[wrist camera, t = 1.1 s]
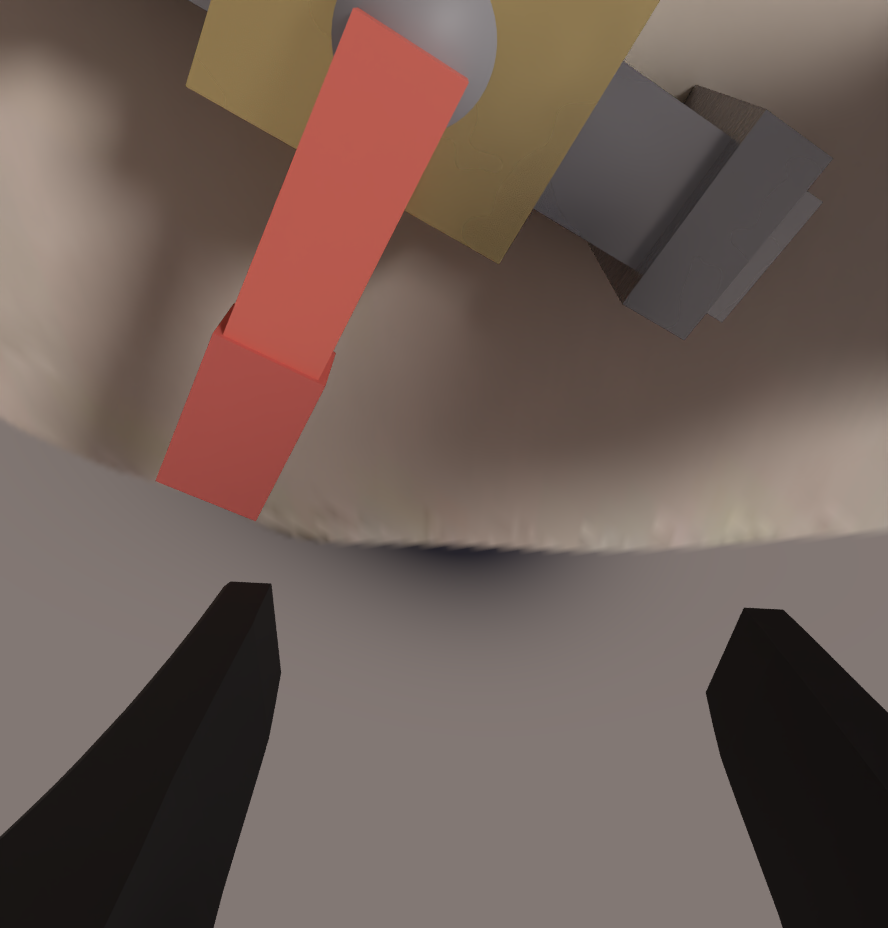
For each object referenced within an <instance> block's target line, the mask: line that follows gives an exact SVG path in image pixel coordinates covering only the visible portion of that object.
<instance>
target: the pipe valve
mask: <svg viewBox="0 0 888 928" xmlns="http://www.w3.org/2000/svg"><path fill="white" fill-rule="evenodd" d="M189 1H191V2H192V3H194V4H196V5H197V6H199V7H201V8H202V9H204V10H206V11H207V15H206V18H205V22H204V25H203V29H202V32H201V35H200V39H199V42H198V45H197V49H196V52H195V55H194V59H193V62H192V65H191V69H190V72H189V76H188V79H187V82H186V87H187V88H189V89H191V90H193V91H195V92H196V93H198V94H200V95H202V96H203V97H205V98H207V99H209V100H210V101H212V102H214V103H216V104H217V105H219V106H221V107H223V108H224V109H226V110H228V111H230V112H231V113H233V114H235V115H237V116H239V117H240V118H242V119H244V120H246V121H247V122H249V123H251V124H253V125H254V126H256V127H258V128H260V129H261V130H263V131H265V132H267V133H268V134H270V135H272V136H274V137H276V138H277V139H279V140H281V141H283V142H284V143H286V144H288V145H290V146H291V147H293V148H295V149H297V147H298V145H299V142H300V140H301V137H302V135H303V132H304V130H305V127H306V125H307V122H308V120H309V117H310V115H311V112H312V110H313V107H314V105H315V102H316V100H317V97H318V95H319V92H320V90H321V87H322V85H323V82H324V80H325V77H326V75H327V72H328V70H329V67H330V65H331V62H332V60H333V50H332V37H331V30H332V19H333V13H334V8H335V5H336V1H337V0H189ZM490 1H491V4H492V8H493V12H494V15H495V21H496V28H497V50H496V58H495V63H494V68H493V71H492V74H491V77H490V80H489V82H488V84H487V87H486V89H485V91H484V92H483V94H482V96H481V97H480V99H479V101H478V102H477V103H476V104H475V106H474V107H473V108H472V109H471V110H470V111H469V112H468V113H467V114H466V115H465V116H464V117H463V118H461V119H460V120H459V121H457V122H456V123H454V124H453V125H451V126H449V127H447V128H446V129H445V131H444V133H443V135H442V137H441V139H440V141H439V143H438V145H437V147H436V149H435V151H434V153H433V155H432V157H431V159H430V161H429V162H428V164H427V166H426V168H425V170H424V172H423V174H422V176H421V178H420V180H419V182H418V184H417V186H416V188H415V190H414V192H413V194H412V196H411V198H410V200H409V202H408V204H407V206H406V208H405V210H404V211H406V212H408V213H409V214H411V215H413V216H415V217H416V218H418V219H420V220H422V221H423V222H425V223H427V224H429V225H430V226H432V227H434V228H436V229H437V230H439V231H441V232H443V233H445V234H446V235H448V236H450V237H452V238H453V239H455V240H457V241H459V242H460V243H462V244H464V245H466V246H467V247H469V248H471V249H473V250H474V251H476V252H478V253H480V254H481V255H483V256H485V257H487V258H489V259H490V260H492V261H494V262H496V263H497V264H500V262H501V260H502V259H503V257H504V255H505V254H506V252H507V250H508V249H509V247H510V246H511V244H512V242H513V241H514V239H515V237H516V236H517V234H518V232H519V231H520V229H521V228H522V226H523V224H524V223H525V221H526V219H527V218H528V216H529V214H530V213H531V211H532V209H535V210H537V211H538V212H540V213H542V214H543V215H545V216H547V217H548V218H550V219H552V220H553V221H555V222H556V223H558V224H560V225H561V226H563V227H565V228H566V229H568V230H570V231H571V232H573V233H575V234H576V235H578V236H580V237H581V238H583V239H585V240H586V241H588V242H590V243H589V246H590V248H591V250H592V251H593V253H594V255H595V257H596V258H597V260H598V262H599V264H600V266H601V267H602V269H603V271H604V273H605V274H606V276H607V278H608V280H609V281H610V283H611V285H612V287H613V288H614V290H615V292H616V294H617V296H618V297H619V299H620V301H621V303H622V304H623V305H625V306H626V307H628V308H630V309H632V310H633V311H635V312H637V313H638V314H640V315H642V316H644V317H645V318H647V319H649V320H650V321H652V322H654V323H656V324H657V325H659V326H661V327H662V328H664V329H666V330H668V331H669V332H671V333H673V334H674V335H676V336H678V337H680V338H681V339H683V340H685V339H686V337H687V336H688V335H689V334H690V333H691V331H692V330H693V329H694V328H695V326H696V325H697V324H698V323H699V322H700V320H701V319H702V318H703V317H704V316H705V314H706V313H707V314H709V315H710V316H712V317H714V318H715V319H717V320H719V321H720V322H723V321H724V319H725V318H726V317H727V316H728V315H729V313H730V312H731V311H732V310H733V309H734V308H735V306H736V305H737V304H738V303H739V302H740V300H741V299H742V298H743V297H744V296H745V294H746V293H747V292H748V291H749V290H750V288H751V287H752V286H753V285H754V284H755V283H756V281H757V280H758V279H759V278H760V277H761V275H762V274H763V273H764V272H765V271H766V269H767V268H768V267H769V266H770V265H771V264H772V262H773V261H774V260H775V259H776V258H777V256H778V255H779V254H780V253H781V252H782V250H783V249H784V248H785V247H786V246H787V244H788V243H789V242H790V241H791V240H792V239H793V237H794V236H795V235H796V234H797V233H798V231H799V230H800V229H801V228H802V227H803V225H804V224H805V223H806V222H807V221H808V219H809V218H810V217H811V216H812V215H813V214H814V212H815V211H816V210H817V209H818V208H819V206H820V205H821V204H822V203H823V202H822V201H821V200H819V199H818V198H816V197H815V196H814V195H812V194H811V193H809V192H808V191H807V190H808V189H809V187H810V186H811V185H812V184H813V183H814V181H815V180H816V179H817V178H818V176H819V175H820V174H821V173H822V172H823V170H824V169H825V168H826V167H827V166H828V164H829V163H830V162H831V161H832V159H833V158H832V157H831V156H829V155H828V154H827V153H825V152H824V151H822V150H821V149H820V148H818V147H817V146H816V145H814V144H813V143H812V142H810V141H809V140H807V139H806V138H805V137H803V136H802V135H801V134H799V133H798V132H797V131H795V130H794V129H793V128H791V127H790V126H788V125H787V124H786V123H784V122H783V121H782V120H780V119H779V118H778V117H776V116H775V115H773V114H772V113H771V112H769V111H768V110H767V109H764V108H761V107H758V106H755V105H753V104H750V103H747V102H744V101H741V100H738V99H736V98H733V97H730V96H727V95H724V94H721V93H719V92H716V91H713V90H710V89H707V88H704V87H701V86H699V85H696V86H695V87H694V89H693V90H692V92H691V93H690V95H689V96H688V98H687V99H686V101H685V102H684V104H683V103H682V102H680V101H679V100H678V99H676V98H675V97H673V96H672V95H670V94H669V93H668V92H666V91H665V90H663V89H662V88H661V87H659V86H658V85H656V84H655V83H653V82H652V81H651V80H649V79H648V78H646V77H645V76H643V75H642V74H641V73H639V72H638V71H636V70H635V69H634V68H632V67H631V66H629V65H628V64H626V63H625V62H624V61H623V60H624V59H625V57H626V55H627V54H628V52H629V50H630V49H631V47H632V45H633V44H634V42H635V40H636V39H637V37H638V36H639V34H640V32H641V31H642V29H643V27H644V26H645V24H646V22H647V21H648V19H649V17H650V16H651V14H652V13H653V11H654V9H655V8H656V6H657V4H658V3H659V1H660V0H490Z"/></svg>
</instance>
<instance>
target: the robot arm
mask: <svg viewBox="0 0 888 928" xmlns="http://www.w3.org/2000/svg"><path fill="white" fill-rule="evenodd" d="M280 675H281V668H280V659H279V650H278V640H277V631H276V622H275V614H274V604H273V595H272V586H271V584H268V583H248V582H247V583H246V582H229V583H228V584H227V585H226V586H224V587H223V589H222V590H221V591H220V593H219V594H218V596H217V597H216V598H215V600H214V601H213V602H212V604H211V605H210V606H209V608H208V609H207V610H206V612H205V613H204V614H203V616H202V617H201V618H200V620H199V621H198V623H197V624H196V625H195V626H194V627H193V629H192V630H191V631H190V633H189V634H188V635H187V636H186V638H185V639H184V640H183V642H182V643H181V644H180V645H179V647H178V648H177V649H176V650H175V652H174V653H173V654H172V655H171V656H170V658H169V659H168V660H167V661H166V663H165V664H164V665H163V666H162V667H161V668H160V670H159V671H158V672H157V673H156V674H155V676H154V677H153V678H152V679H151V680H150V682H149V683H148V684H147V685H146V686H145V687H144V689H143V690H142V691H141V692H140V693H139V694H138V696H137V697H136V698H135V699H134V700H133V702H132V703H131V704H130V705H129V706H128V707H127V708H126V710H125V711H124V712H123V713H122V714H121V715H120V716H119V717H118V718H117V719H116V720H115V721H114V723H113V724H112V725H111V726H110V727H109V728H108V729H107V730H106V731H105V732H104V733H103V734H102V736H101V737H100V738H99V739H98V740H97V741H96V742H95V743H94V744H93V745H92V746H91V747H90V748H89V750H88V751H87V752H86V753H85V754H84V755H83V756H82V757H81V758H80V759H79V760H78V761H77V762H76V763H75V764H74V765H73V767H72V768H71V769H69V770H68V771H67V773H66V774H65V775H64V776H63V777H62V778H61V779H60V780H59V781H58V782H57V783H56V784H55V785H54V786H53V787H52V788H51V789H50V790H49V791H48V792H47V793H46V794H44V795H43V796H42V797H41V798H40V799H39V800H38V801H37V802H36V803H35V804H34V805H33V806H32V807H31V808H30V809H29V810H28V811H27V812H26V813H25V814H24V815H23V816H22V817H21V818H20V819H18V820H17V821H16V822H15V823H14V824H13V825H12V826H11V827H10V828H9V829H8V830H7V831H6V832H5V833H4V834H3V835H2V836H0V928H213V927H214V924H215V920H216V916H217V912H218V908H219V905H220V901H221V897H222V893H223V890H224V886H225V883H226V879H227V876H228V873H229V870H230V866H231V863H232V860H233V857H234V853H235V849H236V847H237V843H238V839H239V836H240V833H241V830H242V827H243V823H244V820H245V817H246V813H247V810H248V807H249V804H250V800H251V797H252V793H253V790H254V787H255V784H256V780H257V777H258V773H259V770H260V767H261V763H262V760H263V756H264V753H265V750H266V746H267V743H268V739H269V735H270V730H271V724H272V719H273V714H274V709H275V704H276V697H277V692H278V686H279V681H280ZM706 695H707V700H708V704H709V709H710V714H711V718H712V723H713V727H714V732H715V735H716V740H717V743H718V748H719V752H720V756H721V759H722V762H723V765H724V768H725V770H726V774H727V776H728V779H729V781H730V785H731V787H732V790H733V793H734V796H735V798H736V801H737V804H738V807H739V809H740V812H741V815H742V817H743V820H744V823H745V826H746V828H747V831H748V834H749V836H750V839H751V842H752V844H753V847H754V850H755V852H756V855H757V858H758V861H759V863H760V866H761V868H762V871H763V874H764V877H765V879H766V882H767V885H768V887H769V890H770V893H771V895H772V898H773V901H774V904H775V906H776V909H777V912H778V915H779V917H780V920H781V924H782V927H783V928H888V712H887V711H886V710H885V709H883V707H882V706H881V705H880V704H879V703H877V701H875V700H874V699H873V698H872V697H871V696H870V695H869V694H868V693H867V692H866V691H865V690H864V689H863V688H862V687H861V686H860V685H859V684H858V683H857V682H856V681H855V680H854V679H853V678H852V677H851V676H850V675H849V674H848V673H847V672H846V671H845V670H844V669H843V668H842V667H841V666H840V665H839V664H838V663H837V662H836V661H835V660H834V659H833V658H832V657H831V656H830V655H829V654H828V653H827V652H826V651H825V650H824V649H823V648H822V647H821V646H820V645H819V644H818V643H817V642H816V641H815V640H814V639H813V638H812V637H811V636H810V635H809V634H808V633H807V632H806V631H805V630H804V629H803V628H802V627H801V626H800V625H799V624H798V623H796V621H795V620H794V619H792V618H791V617H790V616H789V615H788V614H787V613H786V612H785V611H784V610H778V609H759V608H744V609H743V611H742V614H741V615H740V618H739V620H738V622H737V624H736V627H735V629H734V631H733V633H732V636H731V638H730V640H729V642H728V644H727V647H726V649H725V651H724V654H723V655H722V658H721V660H720V662H719V664H718V667H717V669H716V671H715V673H714V675H713V678H712V680H711V682H710V684H709V686H708V689H707V691H706Z"/></svg>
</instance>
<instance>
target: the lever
mask: <svg viewBox="0 0 888 928" xmlns="http://www.w3.org/2000/svg"><path fill="white" fill-rule="evenodd" d="M331 37H332V50H333V60H332V62H331V65H330V67H329V70H328V72H327V75H326V77H325V80H324V82H323V85H322V87H321V90H320V92H319V95H318V97H317V100H316V102H315V105H314V107H313V110H312V112H311V115H310V117H309V120H308V122H307V125H306V127H305V130H304V132H303V135H302V137H301V140H300V142H299V145H298V147H297V150H296V152H295V155H294V157H293V160H292V162H291V165H290V167H289V170H288V172H287V175H286V178H285V180H284V183H283V185H282V188H281V190H280V193H279V195H278V198H277V200H276V203H275V205H274V208H273V210H272V213H271V215H270V218H269V220H268V223H267V225H266V228H265V230H264V233H263V235H262V238H261V240H260V243H259V245H258V248H257V250H256V253H255V255H254V258H253V260H252V263H251V265H250V268H249V270H248V273H247V275H246V278H245V280H244V283H243V285H242V288H241V290H240V293H239V295H238V298H237V300H236V303H234V304H233V305H232V307H231V308H230V310H229V311H228V312H227V314H226V315H225V317H224V318H223V320H222V321H221V322H220V324H219V325H218V327H217V328H216V330H215V331H214V332H213V334H212V337H211V339H210V342H209V344H208V347H207V350H206V352H205V355H204V357H203V360H202V362H201V365H200V368H199V370H198V373H197V375H196V378H195V380H194V383H193V386H192V388H191V391H190V393H189V396H188V398H187V401H186V404H185V406H184V409H183V411H182V414H181V416H180V419H179V422H178V424H177V427H176V429H175V432H174V434H173V437H172V440H171V442H170V445H169V447H168V450H167V452H166V455H165V458H164V460H163V463H162V465H161V468H160V470H159V473H158V476H157V478H156V481H157V482H159V483H162V484H164V485H167V486H169V487H172V488H174V489H177V490H179V491H182V492H184V493H187V494H189V495H192V496H194V497H197V498H199V499H202V500H204V501H207V502H209V503H212V504H214V505H217V506H219V507H222V508H224V509H227V510H229V511H232V512H234V513H237V514H239V515H242V516H244V517H247V518H249V519H252V520H254V521H256V520H257V518H258V516H259V514H260V512H261V510H262V508H263V506H264V504H265V502H266V500H267V498H268V496H269V495H270V493H271V491H272V489H273V487H274V485H275V483H276V481H277V479H278V477H279V475H280V473H281V471H282V469H283V467H284V465H285V463H286V462H287V460H288V458H289V456H290V454H291V452H292V450H293V448H294V446H295V444H296V442H297V440H298V438H299V436H300V434H301V432H302V430H303V429H304V427H305V425H306V423H307V421H308V419H309V417H310V415H311V413H312V411H313V409H314V407H315V405H316V403H317V401H318V399H319V397H320V396H321V394H322V392H323V390H324V388H325V385H326V382H327V379H328V376H329V373H330V370H331V367H332V363H333V360H334V357H335V354H336V353H335V352H333V350H334V348H335V346H336V344H337V342H338V340H339V338H340V336H341V335H342V333H343V331H344V329H345V327H346V325H347V323H348V321H349V319H350V317H351V315H352V313H353V311H354V309H355V307H356V305H357V303H358V301H359V299H360V297H361V295H362V293H363V291H364V289H365V287H366V285H367V283H368V281H369V279H370V277H371V275H372V273H373V271H374V269H375V267H376V265H377V263H378V261H379V259H380V257H381V255H382V253H383V251H384V249H385V248H386V246H387V244H388V242H389V240H390V238H391V236H392V234H393V232H394V230H395V228H396V226H397V224H398V222H399V220H400V218H401V216H402V214H403V212H404V210H405V208H406V206H407V204H408V202H409V200H410V198H411V196H412V194H413V192H414V190H415V188H416V186H417V184H418V182H419V180H420V178H421V176H422V174H423V172H424V170H425V168H426V166H427V164H428V162H429V161H430V159H431V157H432V155H433V153H434V151H435V149H436V147H437V145H438V143H439V141H440V139H441V137H442V135H443V133H444V131H445V129H446V128H447V127H449V126H451V125H453V124H454V123H456V122H457V121H459V120H460V119H461V118H463V117H464V116H465V115H466V114H467V113H468V112H469V111H470V110H471V109H472V108H473V107H474V106H475V104H476V103H477V102H478V101H479V99H480V97H481V96H482V94H483V92H484V91H485V89H486V87H487V84H488V82H489V80H490V77H491V74H492V71H493V68H494V63H495V58H496V50H497V28H496V21H495V15H494V12H493V8H492V4H491V1H490V0H337V1H336V5H335V8H334V13H333V19H332V30H331Z"/></svg>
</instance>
